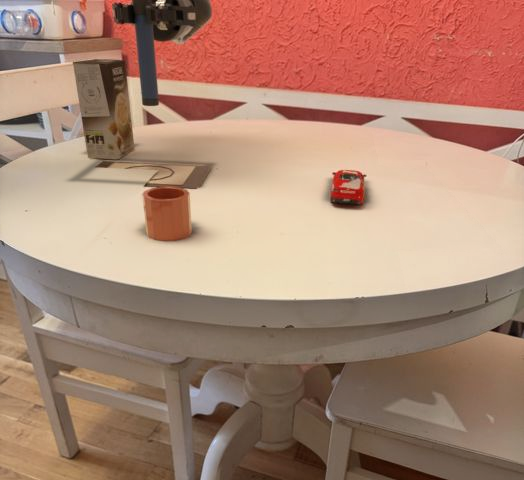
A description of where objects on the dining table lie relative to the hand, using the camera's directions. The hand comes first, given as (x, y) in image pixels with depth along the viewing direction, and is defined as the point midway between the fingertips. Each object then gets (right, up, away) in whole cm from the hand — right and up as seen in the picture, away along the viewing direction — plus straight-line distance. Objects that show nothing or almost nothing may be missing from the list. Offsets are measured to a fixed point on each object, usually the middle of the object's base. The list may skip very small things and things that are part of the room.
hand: (137, 14), depth 71 cm
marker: (0, -8, +9) cm, 12 cm away
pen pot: (+6, -33, -6) cm, 34 cm away
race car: (+31, -23, +10) cm, 40 cm away
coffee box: (-12, -9, +28) cm, 32 cm away
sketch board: (-2, -18, +15) cm, 24 cm away
